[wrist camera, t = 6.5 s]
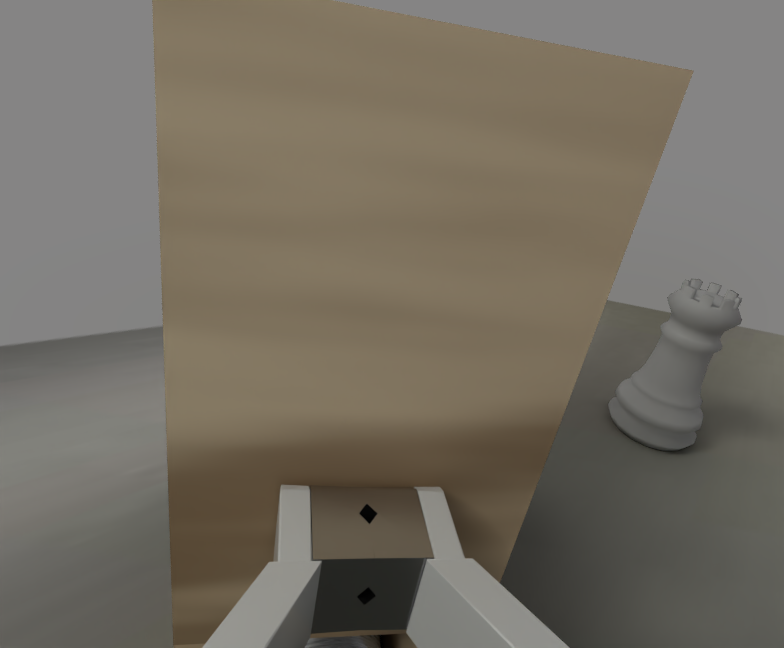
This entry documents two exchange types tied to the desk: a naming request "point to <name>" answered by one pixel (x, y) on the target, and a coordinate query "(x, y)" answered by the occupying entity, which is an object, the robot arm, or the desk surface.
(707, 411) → the desk surface
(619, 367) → the desk surface
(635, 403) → the rook chess piece
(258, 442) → the tall wooden block
